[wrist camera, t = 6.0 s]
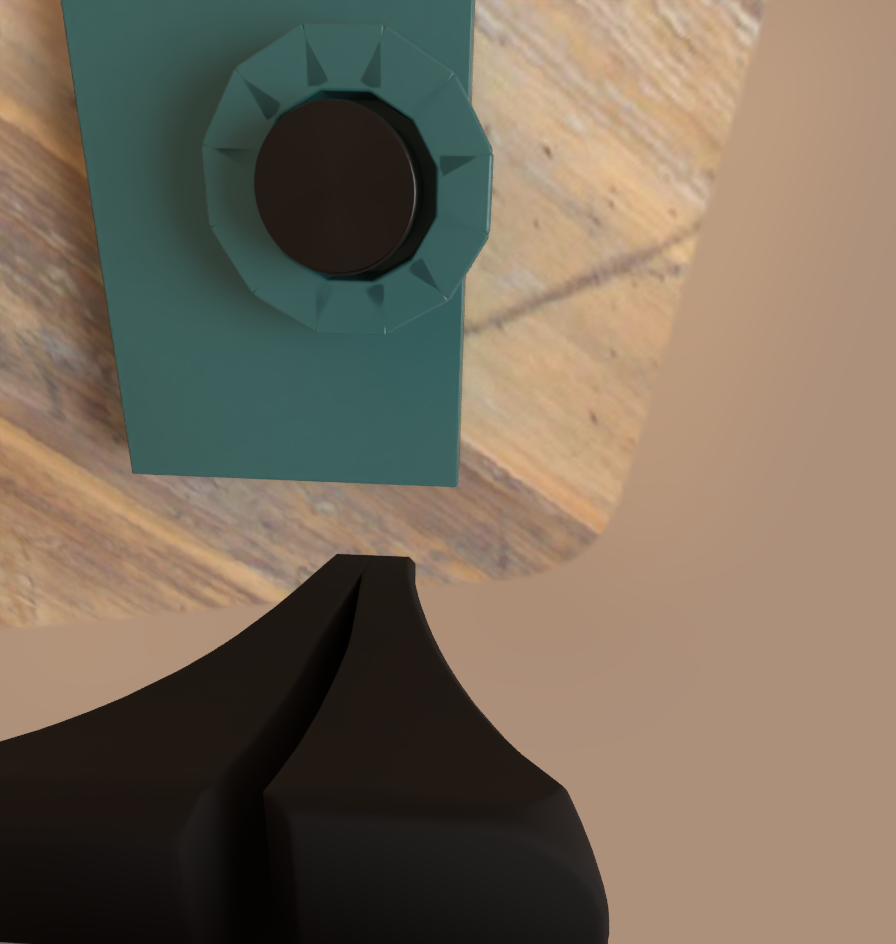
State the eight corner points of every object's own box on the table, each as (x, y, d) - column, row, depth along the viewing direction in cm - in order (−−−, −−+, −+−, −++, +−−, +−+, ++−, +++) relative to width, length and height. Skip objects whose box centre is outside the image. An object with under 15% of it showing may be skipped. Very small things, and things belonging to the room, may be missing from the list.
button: (423, 268, 16) (416, 278, 14) (281, 264, 16) (258, 273, 15) (425, 109, 15) (418, 100, 13) (271, 105, 15) (246, 96, 13)
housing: (477, 465, 21) (476, 517, 18) (157, 452, 21) (99, 501, 18) (499, -18, 17) (503, -67, 13) (92, -26, 17) (-1, -75, 14)
